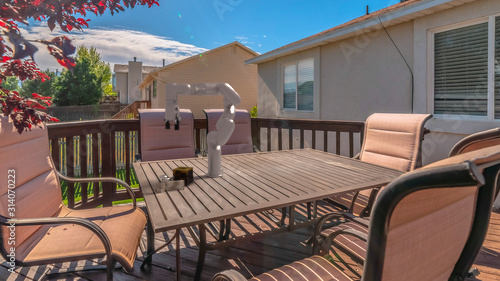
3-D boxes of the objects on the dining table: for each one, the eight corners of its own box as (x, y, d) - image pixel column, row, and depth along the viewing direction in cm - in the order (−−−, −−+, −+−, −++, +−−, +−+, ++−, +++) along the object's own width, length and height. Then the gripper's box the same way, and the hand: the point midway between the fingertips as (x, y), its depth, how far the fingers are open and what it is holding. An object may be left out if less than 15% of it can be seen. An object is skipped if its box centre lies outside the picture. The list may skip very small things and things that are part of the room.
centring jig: (163, 185, 177) (163, 177, 177) (185, 188, 171) (185, 180, 170) (148, 190, 165) (147, 182, 165) (170, 194, 159) (170, 185, 158)
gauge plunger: (170, 178, 174) (170, 172, 174) (176, 179, 172) (176, 172, 172) (157, 182, 164) (157, 176, 163) (163, 183, 162) (163, 176, 161)
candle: (187, 186, 176) (187, 170, 175) (172, 185, 178) (171, 169, 177) (194, 182, 186) (193, 167, 185) (179, 181, 188) (179, 166, 187)
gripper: (185, 102, 180) (185, 130, 182) (168, 102, 191) (169, 128, 193) (175, 102, 175) (175, 130, 176) (158, 102, 186) (159, 129, 187)
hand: (172, 129), depth 185 cm, fingers open, 9 cm apart
